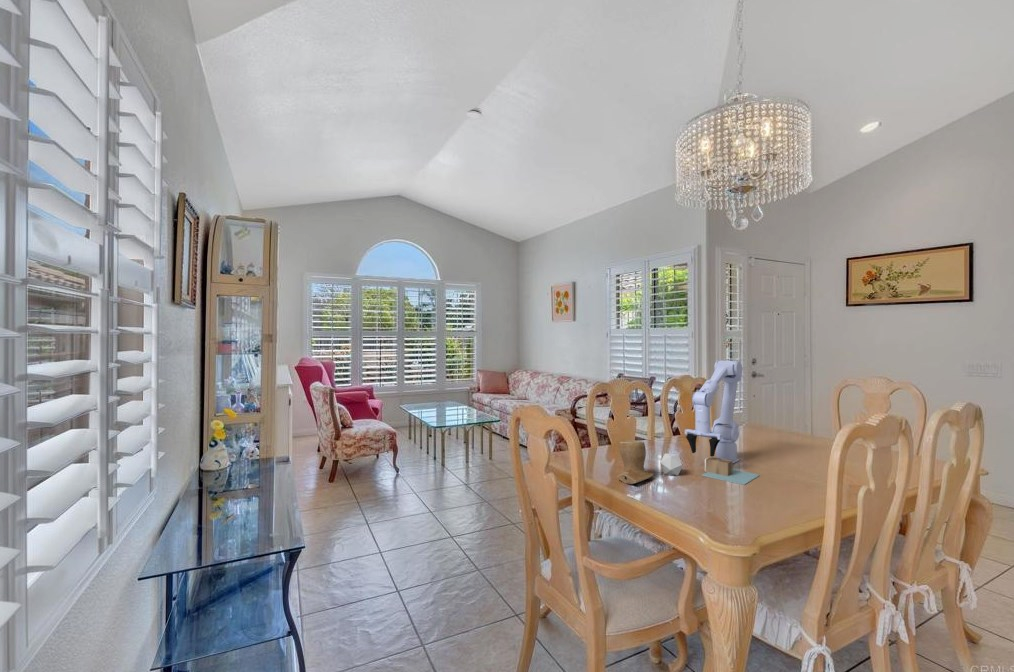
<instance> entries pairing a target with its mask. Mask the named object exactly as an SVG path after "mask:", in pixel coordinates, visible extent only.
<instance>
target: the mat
mask: <svg viewBox="0 0 1014 672" xmlns="http://www.w3.org/2000/svg"><path fill="white" fill-rule="evenodd" d="M701 476H702V477H706V478H711V479H715V480H720V481H724V482H730V483H735V484H738V485H744V486H746V485H747V484H748V483H750V482H752V481H753V480H755V479H756V478H758V477H760V474H757V473H752V472H749V471H748V472H747V471H743V470H739V469H738V470H736V469H733V474H731V475H729V476H725V475H720V474H715V473H710V472H704V473H702V474H701Z"/></svg>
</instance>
